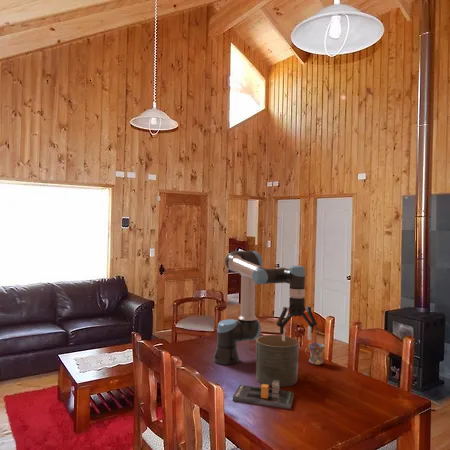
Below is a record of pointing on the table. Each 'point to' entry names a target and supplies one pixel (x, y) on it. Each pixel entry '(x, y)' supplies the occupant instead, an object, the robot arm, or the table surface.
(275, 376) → the planter
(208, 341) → the table surface
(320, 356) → the mug
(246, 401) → the panel
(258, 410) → the table surface
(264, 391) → the handle
